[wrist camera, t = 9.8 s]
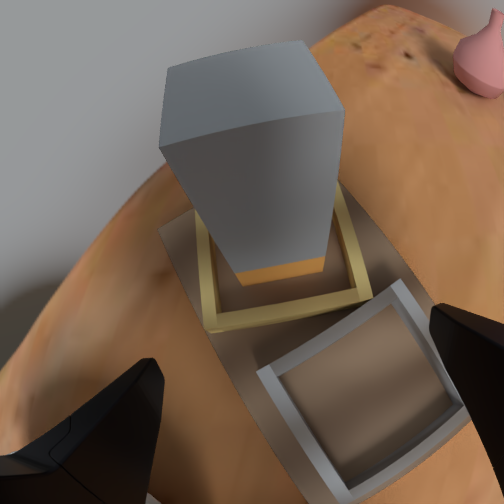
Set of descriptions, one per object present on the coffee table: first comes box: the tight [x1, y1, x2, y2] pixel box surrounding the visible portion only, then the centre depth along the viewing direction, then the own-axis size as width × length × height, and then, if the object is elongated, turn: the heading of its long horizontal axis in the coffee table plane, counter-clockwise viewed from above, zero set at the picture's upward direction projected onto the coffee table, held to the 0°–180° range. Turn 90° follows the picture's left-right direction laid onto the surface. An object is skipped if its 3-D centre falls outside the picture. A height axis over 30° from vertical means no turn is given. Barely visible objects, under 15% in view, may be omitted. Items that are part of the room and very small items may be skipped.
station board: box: [157, 179, 472, 504], centre depth 17 cm, size 23×13×2 cm, turn 29°
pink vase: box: [453, 8, 504, 99], centre depth 19 cm, size 8×8×12 cm
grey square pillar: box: [159, 40, 345, 287], centre depth 14 cm, size 4×5×12 cm
